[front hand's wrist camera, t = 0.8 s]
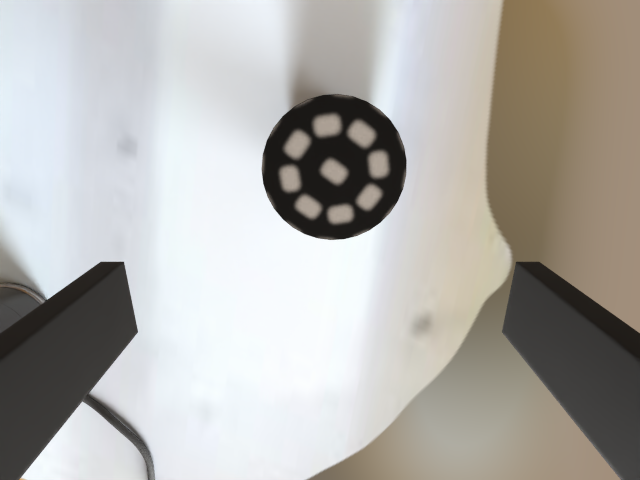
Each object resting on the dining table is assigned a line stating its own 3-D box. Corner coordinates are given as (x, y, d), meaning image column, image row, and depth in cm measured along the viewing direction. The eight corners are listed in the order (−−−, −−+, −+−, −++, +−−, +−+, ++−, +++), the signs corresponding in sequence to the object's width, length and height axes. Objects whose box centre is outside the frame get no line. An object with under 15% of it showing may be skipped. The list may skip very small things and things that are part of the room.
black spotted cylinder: (274, 150, 40) (234, 187, 21) (318, 83, 38) (317, 60, 19) (335, 193, 42) (347, 264, 23) (381, 132, 40) (436, 155, 21)
